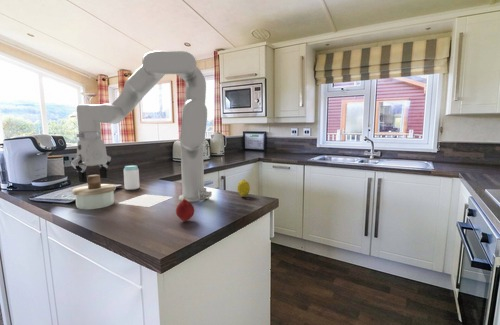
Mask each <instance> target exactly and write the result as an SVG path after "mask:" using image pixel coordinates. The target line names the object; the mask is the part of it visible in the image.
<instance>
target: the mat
mask: <svg viewBox="0 0 500 325" xmlns="http://www.w3.org/2000/svg"><path fill="white" fill-rule="evenodd" d="M172 198H174V196H165V195H157V194H146V193H145V194H142V195H138V196H135V197H132V198H129V199H126V200H123V201H120V202H117V205H118V204H119V205H127V206H134V207H135V206H136V207H144V208H151V207H152V206H155V205H157V204H161V203H163V202H165V201H167V200H170V199H172Z"/></svg>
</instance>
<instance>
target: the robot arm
mask: <svg viewBox="0 0 500 325" xmlns="http://www.w3.org/2000/svg"><path fill="white" fill-rule="evenodd" d="M141 63H142V64H141V65H140V66H139V67H138V68H137V69H136V70H135V71H134V72H133V73H132V74H130V75H131V76H129V77H128V78H127V79H126V80H125V83H124V84H123V85H124V86H123V89H122V92H120V94H119V95H118V97H117V98H116V99H115V100H114V101H113V102H111V103H102V104H88V103H86V104H85V103H81V104H78V105H77V106H76V116H77V117H76V118H77V125H78V126H77V128H78V129H77V130H78V133H76V138H78V140H77V144H76V145H77V146H76V157H75V158H74V159H72V160H70V164H71V167H72V168H73V169H74V170H75V171H76V172H77V174H78V180H79V183H88V180H87V176H88V175H87V172H86V169H87V167H94V166H95V167H96V166H99V175H100V179H107V178H108V170H107V169H108V168H109V165H110V162H111V159H112V157H111V156H110V155H108V154H107V148H106V147H107V146H106V144H105V141H104V140H105V139H102V130H101V123H103V124H110V125H112V124H113V125H115V124H119V123H121V122H122V121H123V120H124V119H125V118H127V117H128V116H129V114H131V112H132V111H133V110H134V109H135V108H136V106H138V105H139V103H140V102H141V101H142V99H143V98H144V97H145V96H146V95H147V94H148V93H149V92H150V91H151V90H152V89H153V88H154V87H155V86H156V85H157V84H158V83H159V81H161V80H162V79H163V78H164V76H165V75H177V76H178V77H180V79H182V80H183V82H184V83H185V91H184V92H185V94H184V95H185V96H184V104H183V107H182V114H181V128H180V134H179V141H180V165H181V167H180V168H181V190H182V191H181V193H182V194H180V195H179V196H178V200H179V201H180V202H182V201H183V198H185V199H186V200H187V201H189V202H190V203H192V202H193V203H195V202H203V201H206V200H207V199H208V198H210V197H212V194H213V192H212V191H210V190H207V188H206V187H205V179H204V178H205V175H204V173H205V172H204V166H205V165H204V142H205V138H206V130H207V120H208V108H207V106H206V99H207V98H206V94H207V81H206V78H205V76H204V74H203V72H202V71H201V69H200V68H199V67H197V61H196V57H195V56H194V55H193V54H192V53H190V52H187V51H184V50H153V51H149V52H147V53H145V54H144V55H143V57H142V62H141Z"/></svg>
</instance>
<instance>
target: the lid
mask: <svg viewBox="0 0 500 325" xmlns="http://www.w3.org/2000/svg"><path fill="white" fill-rule="evenodd" d="M86 176H87V185H82V186H78V187H75V188H73V189H72V191H71V192H72V195H74V196H75V195H81V196H85V195H97V194H104V193H108V192H112V191H114V192H115V190H116V187H117V186H116V184H111V183H101V178H100V174H91V175H86Z"/></svg>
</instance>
